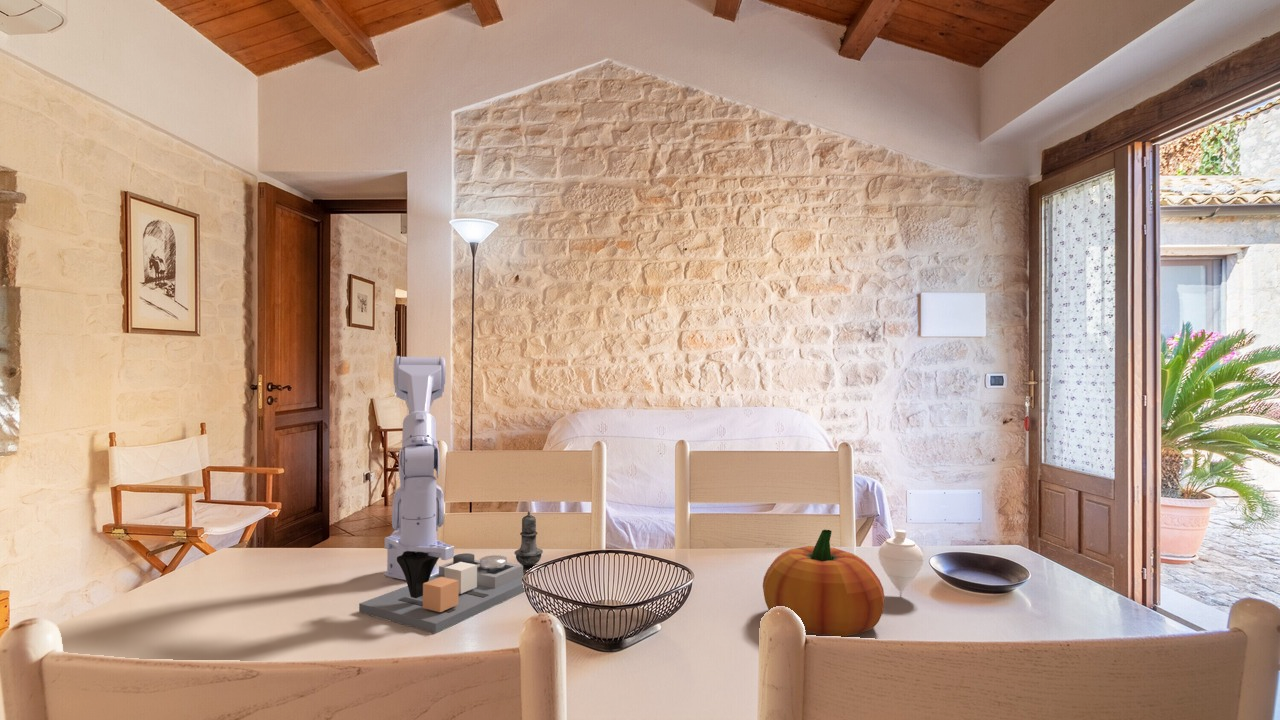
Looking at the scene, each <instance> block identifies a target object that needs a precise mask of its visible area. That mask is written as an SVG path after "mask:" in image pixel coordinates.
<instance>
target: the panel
mask: <svg viewBox="0 0 1280 720" xmlns="http://www.w3.org/2000/svg"><path fill="white" fill-rule="evenodd" d="M474 564H475V565H477V587H476V588H474V589H471V590H469V591H466V592H464V593H462V594H460V593H459V596H458V605H456V606H454V607H451V608H449V609H447V610H444V611H442V612H437V611H433V610H429V609H425V608H423V596H421V597H418V598H413V597H411V596H410V592H409V588H408V585H406V586H404V587H400V588H398V589H395V590H392V591H390V592H387V593H384V594H381V595H379V596H376V597H373V598H370V599H368V600H365V601H362V602H360V603H359V606H358V609H359V610H358V612H359V613H360V614H364V615H367V616H371V617H375V618H378V619H382V620H386V621H389V622H393V623H395V624H396V623H397V624H400V625H403V626H408V627H411V628H413V629H414V628H415V629H419V630H423V631H427V632H430V633H434V634H438V633H440V632H442V631H443V630H445V629H449V628H450V627H452V626H454V625H456V624H459V623H461V622H464V621H466V620H467V619H469V618H471V617H474V616H475V615H479V614H480V613H481V612H484V611H486V610H488V609H490V608H492V607H494V606H497V605H499V604H501V603H503V602H505V601H507V600H510V599H511V598H513V597H516V596H518V595H520V594H522V593H524V592H525V591H524V588H523V584H522V576H523V575H524V574H525V573H523V565H522V564H517V563H512V562H507V567H506V568H504V569H502V570H498V571H484V570H481V569H480V560H476V559H474ZM450 565H453V561H451V562H448V563H445V564H442V565H440V566H438V568H439V574H438V575H436V576H433V577H430V578H429V581H431V580H434V579H436V578H439V577H444V568H445V567H447V566H450Z"/></svg>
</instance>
